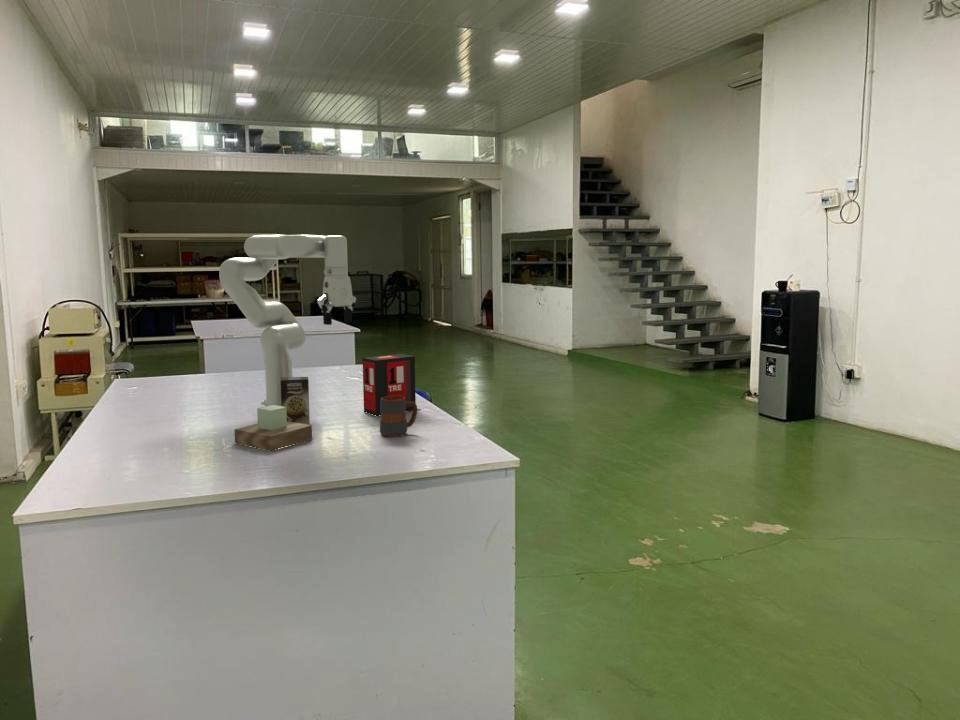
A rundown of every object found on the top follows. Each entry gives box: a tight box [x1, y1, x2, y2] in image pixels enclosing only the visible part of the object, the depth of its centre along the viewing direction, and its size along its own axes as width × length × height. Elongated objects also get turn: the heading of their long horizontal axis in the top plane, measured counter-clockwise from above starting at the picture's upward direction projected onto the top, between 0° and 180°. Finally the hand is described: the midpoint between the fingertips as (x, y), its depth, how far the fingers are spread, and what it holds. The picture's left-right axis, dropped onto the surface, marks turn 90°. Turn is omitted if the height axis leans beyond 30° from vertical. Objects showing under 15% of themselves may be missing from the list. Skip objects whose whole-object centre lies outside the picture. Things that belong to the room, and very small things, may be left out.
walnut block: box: [233, 421, 313, 452], centre depth 214 cm, size 16×16×5 cm
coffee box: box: [280, 376, 311, 425], centre depth 233 cm, size 9×6×16 cm
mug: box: [379, 396, 418, 437], centre depth 222 cm, size 9×12×12 cm
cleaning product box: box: [362, 353, 417, 417], centre depth 255 cm, size 16×9×20 cm, turn 129°
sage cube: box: [256, 405, 287, 430], centre depth 213 cm, size 6×6×6 cm
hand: (338, 323), depth 239 cm, fingers open, 9 cm apart
